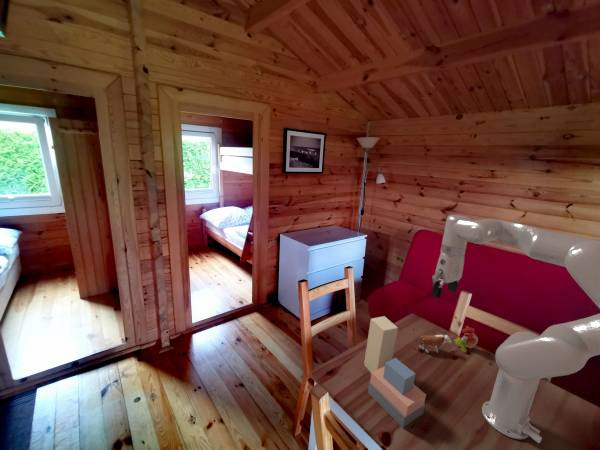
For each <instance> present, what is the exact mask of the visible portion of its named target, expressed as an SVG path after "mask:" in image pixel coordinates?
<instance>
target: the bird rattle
mask: <svg viewBox="0 0 600 450" xmlns="http://www.w3.org/2000/svg"><path fill="white" fill-rule="evenodd" d="M462 333H463V334H464V335H463V336H462V337H461V338H460V337H459V336H457V338H455V339H454V340H453V342H454V343H455V344H456V347H461V348H460V350H461V351H462V352H463V353H464V352H465V353H467V348H469V349H472V348H473V347H475V346H476V345H477V344H478V342H479V338H478V336H477V335H476V333H475V328H474V327H473V328H472V327H470V326H469V325H466V326H465V328H463V329H462Z"/></svg>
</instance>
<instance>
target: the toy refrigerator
mask: <svg viewBox="0 0 600 450" xmlns="http://www.w3.org/2000/svg"><path fill="white" fill-rule="evenodd" d="M398 331H399V329H398V326H396V325H395V323H393V322H392V321H391V320H389V319H388V318H387V317H386V316H385V315H383V316H379V317H378V316H377V317H373V318H370V322H369V329H368V337H367V343H366V349H365V354H364V355H365V356H364V363H363V365H364V366H365V368H366V369H367V370H368V372H369V373H370V374H371V373H372V372H374V371H376V370H378V369H380V368H382V367H384V366H385V363H386V362H388V361H390V360H392V359H394V351H395V347H396V341H397V335H398Z"/></svg>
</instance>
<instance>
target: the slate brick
mask: <svg viewBox="0 0 600 450" xmlns="http://www.w3.org/2000/svg"><path fill="white" fill-rule="evenodd" d="M383 378H384V379H385V380H386V381H388V382H389V383H390V384H391V385H392V386H393V387H394V388H395V389H396V390H397V391H398V392H400V393H401V394H402V395H404V394H405V393H407V392H408V391H410V390H412V389H413V384H414V385H415V379H416V372H414V371H413V370H411V369H410V368H409V367H408V366H406V365H405V364H404V363H403V362H402V361H401V360H399V359H398V358H396V357H393V358H392V360H390V361H388V362H386V363H385V369H384V375H383Z"/></svg>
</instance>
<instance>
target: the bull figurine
mask: <svg viewBox="0 0 600 450" xmlns="http://www.w3.org/2000/svg"><path fill="white" fill-rule="evenodd" d="M419 337H420V338H419V341H420V342H419V343H418V345H419V347H418V348H419V349H420V350H423V351H424V350H425V352H426V353H427V354H429V353H430V351H429V350H428V347H435V351H434V352H436V353H439V349H440V348H441V346H442V345H444V344H445V343H446V344H447V343H449V344H452V342H453V341H452V339H451V338H450V336H449V335H448V334H447V333H445V334H444V335H443V334H434V335H421V336H419Z"/></svg>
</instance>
